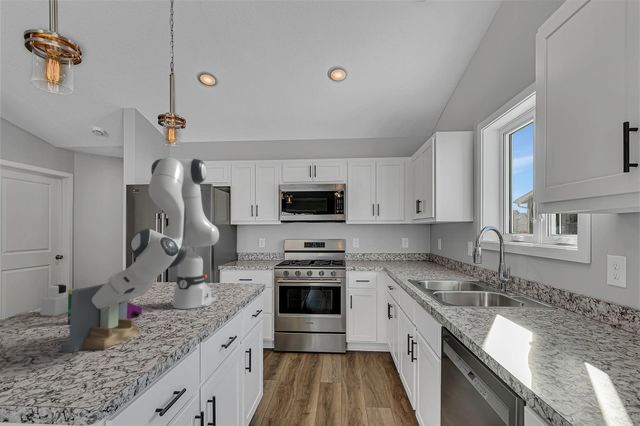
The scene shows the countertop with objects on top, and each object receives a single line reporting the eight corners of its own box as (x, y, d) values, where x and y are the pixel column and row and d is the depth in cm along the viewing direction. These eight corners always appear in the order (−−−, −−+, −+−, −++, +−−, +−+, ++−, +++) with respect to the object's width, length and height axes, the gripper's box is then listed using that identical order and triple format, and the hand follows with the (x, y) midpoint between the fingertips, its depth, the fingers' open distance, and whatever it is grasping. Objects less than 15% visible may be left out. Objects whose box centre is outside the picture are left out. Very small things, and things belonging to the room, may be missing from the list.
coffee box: (66, 325, 115) (68, 290, 115) (66, 323, 117) (68, 288, 118) (92, 321, 119) (94, 287, 120) (93, 319, 122) (94, 286, 122)
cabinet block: (109, 325, 102) (111, 295, 103) (118, 325, 102) (119, 295, 102) (99, 329, 98) (101, 297, 99) (108, 329, 98) (109, 298, 98)
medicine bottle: (56, 310, 134) (58, 283, 134) (71, 311, 133) (72, 283, 133) (39, 315, 127) (41, 286, 127) (54, 316, 126) (56, 287, 126)
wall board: (113, 329, 111) (115, 279, 112) (126, 330, 110) (128, 279, 111) (59, 351, 91) (63, 290, 92) (74, 352, 90) (77, 291, 91)
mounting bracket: (118, 330, 127) (90, 323, 111) (124, 309, 131) (98, 300, 115) (140, 330, 127) (116, 323, 111) (146, 309, 131) (123, 300, 115)
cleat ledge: (119, 332, 107) (120, 317, 107) (137, 334, 106) (138, 318, 106) (83, 348, 93) (84, 330, 93) (104, 349, 92) (105, 331, 92)
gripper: (153, 267, 110) (127, 294, 111) (106, 276, 90) (75, 308, 91) (164, 280, 109) (138, 306, 110) (119, 292, 89) (88, 324, 90)
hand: (109, 307), depth 100 cm, fingers closed on cabinet block, 4 cm apart
